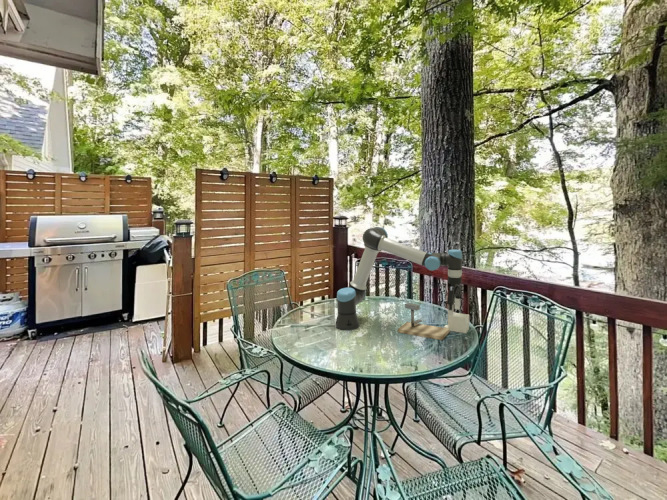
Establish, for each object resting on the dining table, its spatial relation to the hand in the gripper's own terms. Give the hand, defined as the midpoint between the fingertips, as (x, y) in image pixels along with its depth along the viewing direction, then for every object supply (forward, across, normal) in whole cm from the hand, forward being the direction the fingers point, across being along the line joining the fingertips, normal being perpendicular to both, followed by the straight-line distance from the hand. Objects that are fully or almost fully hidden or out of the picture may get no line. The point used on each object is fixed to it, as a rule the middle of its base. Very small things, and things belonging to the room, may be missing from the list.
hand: (454, 312), depth 197 cm
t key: (+8, -9, +20) cm, 23 cm away
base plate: (+11, -12, +14) cm, 21 cm away
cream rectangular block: (+11, +1, -1) cm, 11 cm away
